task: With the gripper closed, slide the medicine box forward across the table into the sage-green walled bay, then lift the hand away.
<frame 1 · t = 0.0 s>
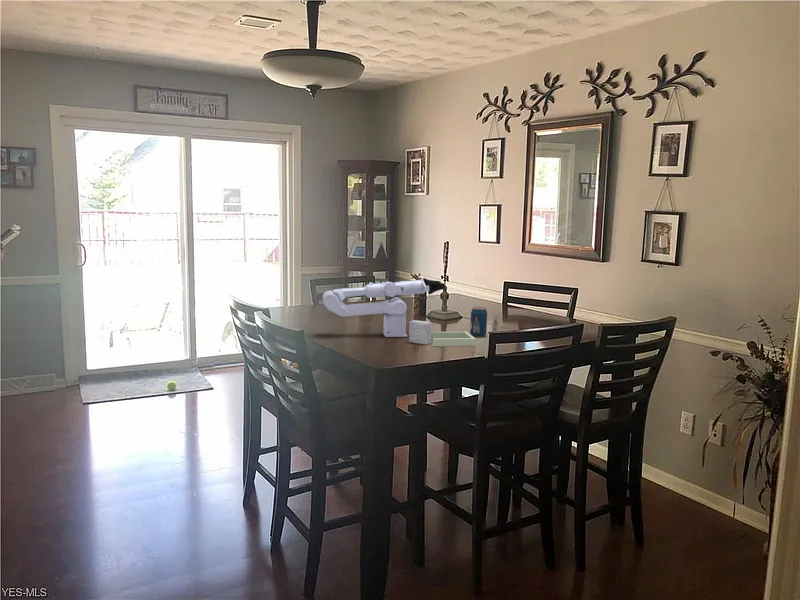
hand: (442, 284, 270), 22 cm above the table, tool horizontal, fingers open, 7 cm apart
bay: (448, 342, 258), on the table
medicine box: (419, 343, 256), on the table
soda can: (478, 336, 273), on the table
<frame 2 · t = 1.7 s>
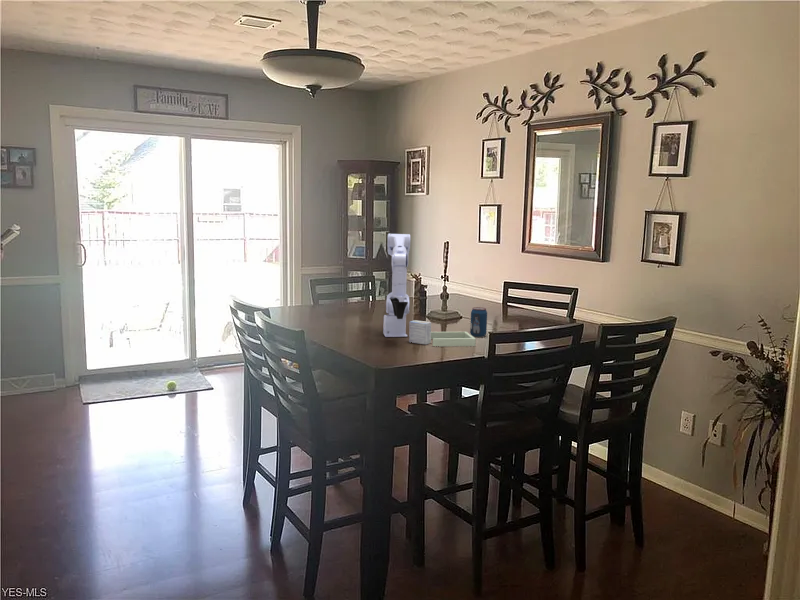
hand: (398, 317, 253), 10 cm above the table, tool pointing down, fingers open, 6 cm apart
nothing on the table moved.
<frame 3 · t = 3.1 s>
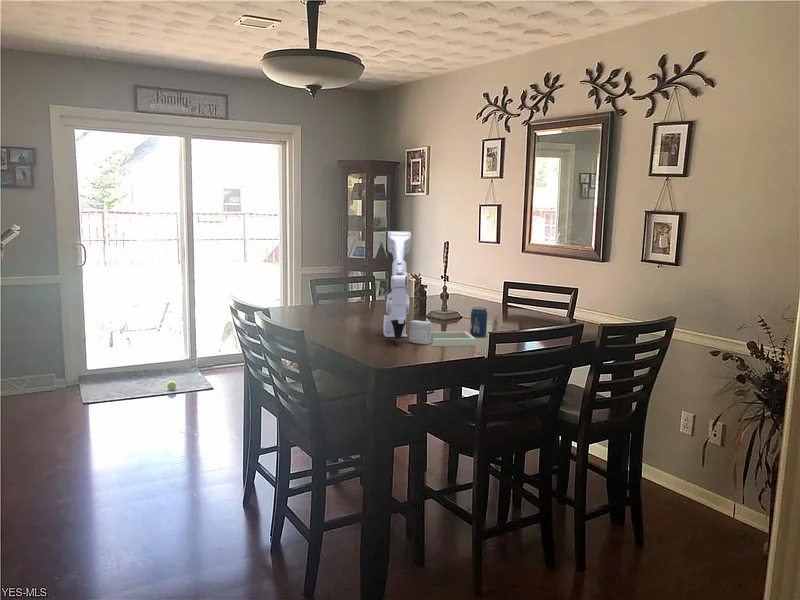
hand: (397, 338, 254), 2 cm above the table, tool pointing down, fingers closed
nothing on the table moved.
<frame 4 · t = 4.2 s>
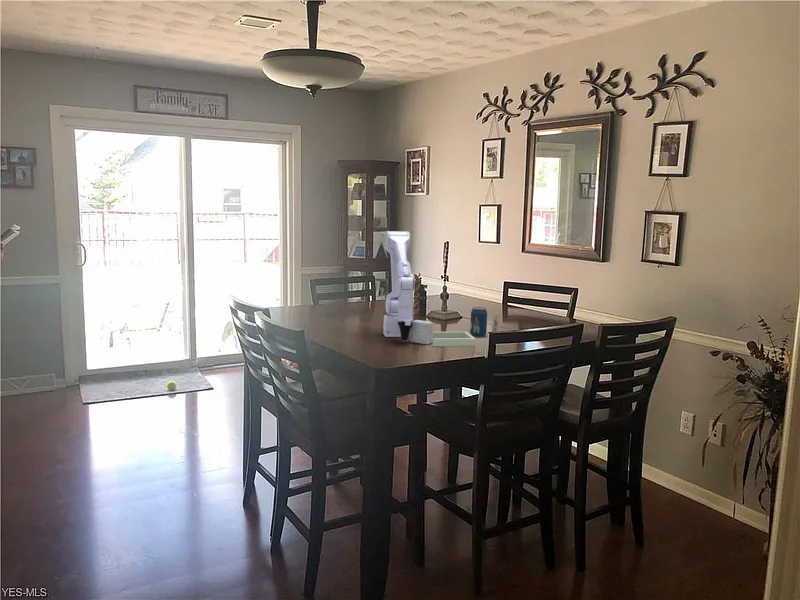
hand: (404, 339, 255), 1 cm above the table, tool pointing down, fingers closed
medicine box: (421, 343, 256), on the table, touching gripper
everything else where it was.
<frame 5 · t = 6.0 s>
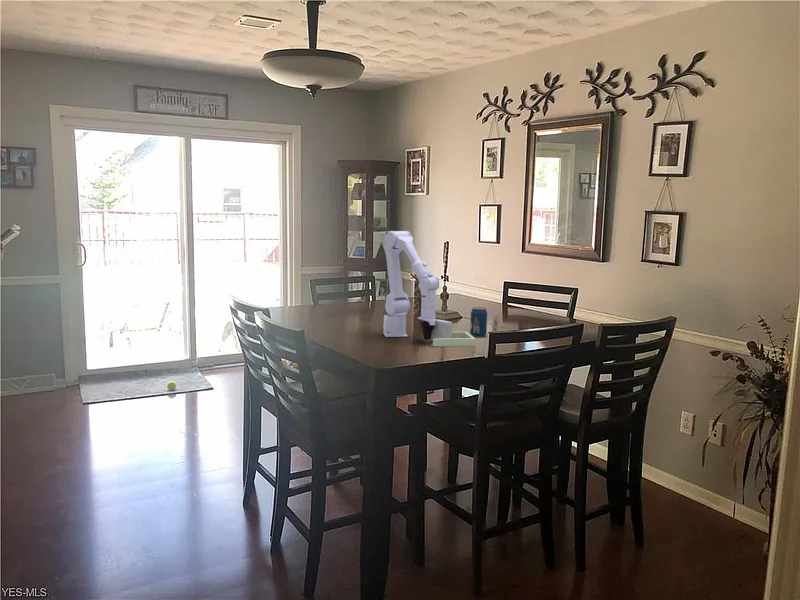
hand: (427, 339, 256), 1 cm above the table, tool pointing down, fingers closed
medicine box: (440, 342, 258), on the table, touching gripper
everything else where it was.
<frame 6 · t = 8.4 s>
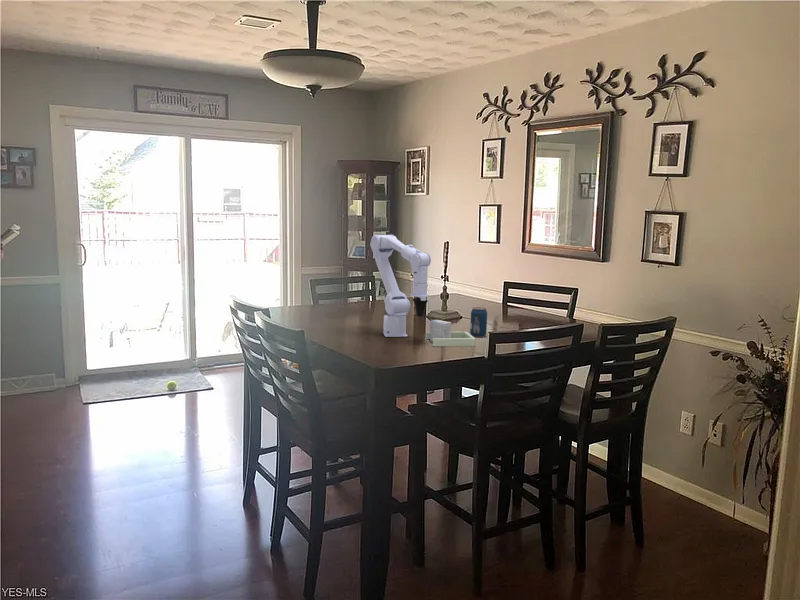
hand: (419, 316, 257), 10 cm above the table, tool pointing down, fingers closed
medicine box: (439, 342, 258), on the table
everything else where it was.
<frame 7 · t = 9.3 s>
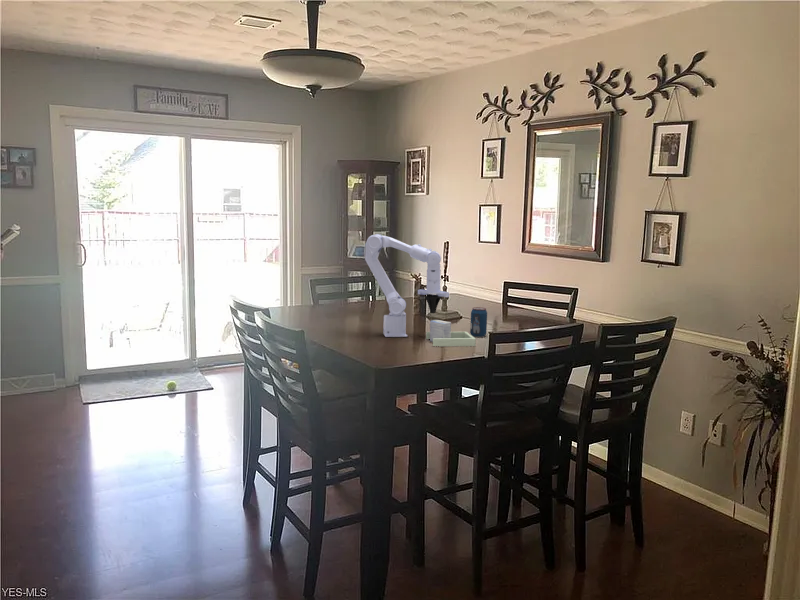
hand: (432, 312, 266), 10 cm above the table, tool pointing down, fingers closed
nothing on the table moved.
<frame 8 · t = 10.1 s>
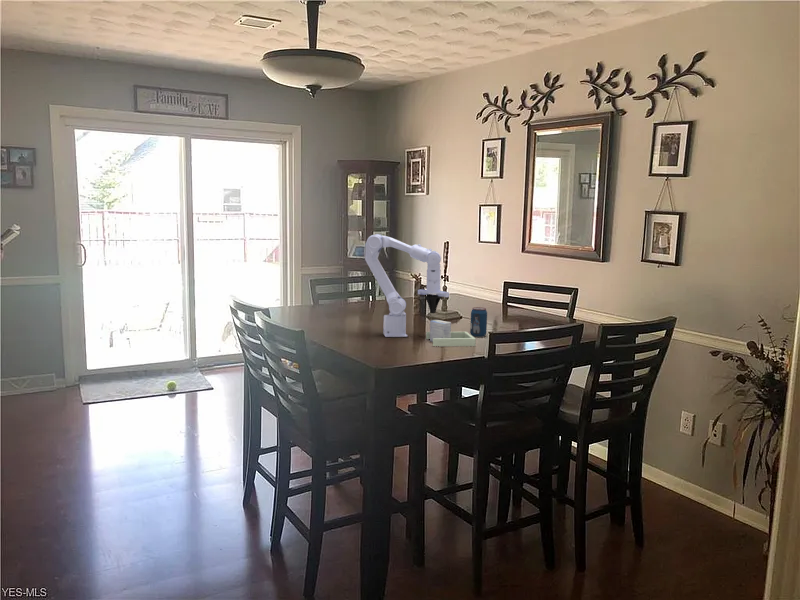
hand: (432, 312, 266), 10 cm above the table, tool pointing down, fingers closed
nothing on the table moved.
at the end: medicine box inside the target area on the bay (3.4 cm from its centre), point 0.0 cm above the bay's base; medicine box tilted 0°; medicine box moved 8.5 cm from its start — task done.
